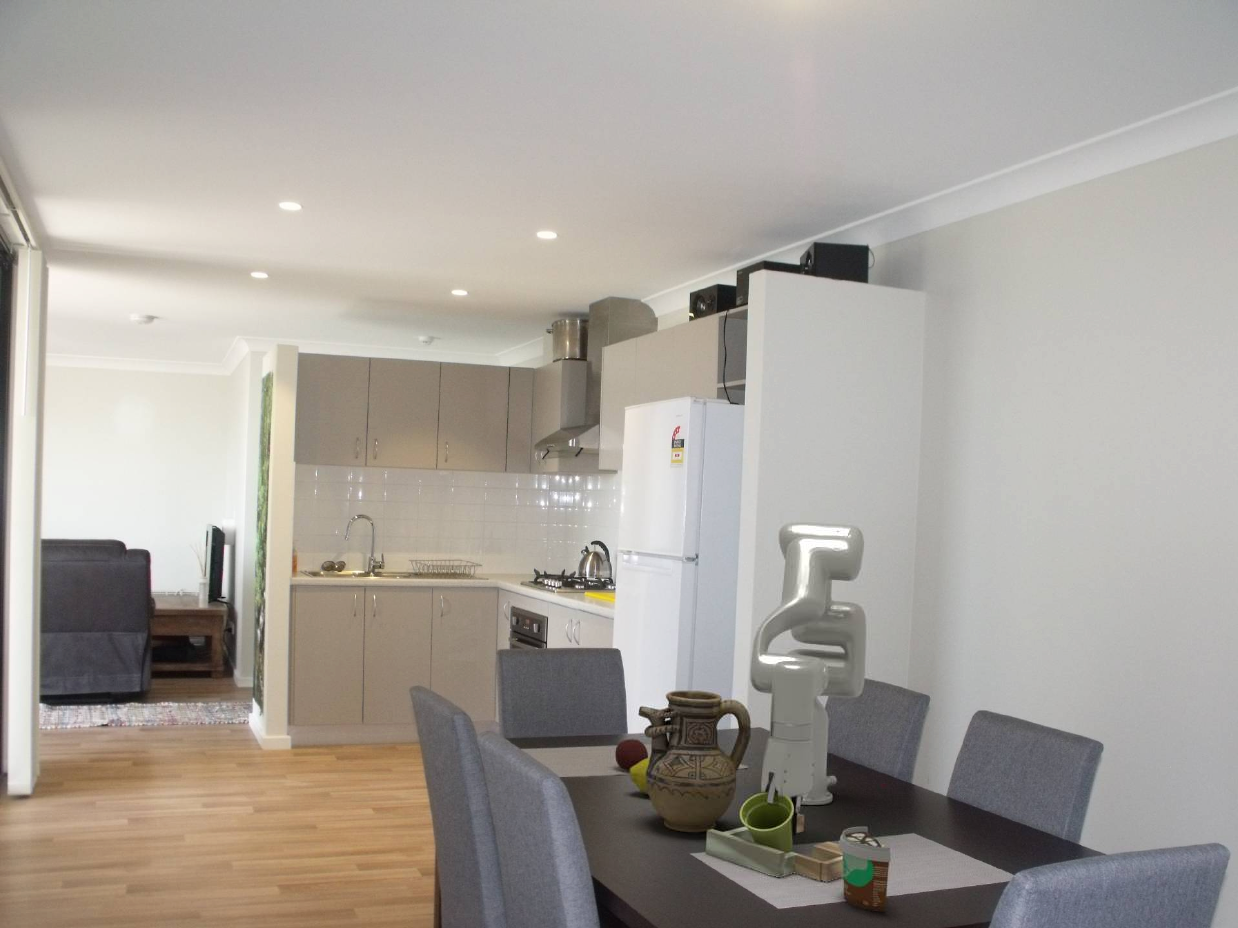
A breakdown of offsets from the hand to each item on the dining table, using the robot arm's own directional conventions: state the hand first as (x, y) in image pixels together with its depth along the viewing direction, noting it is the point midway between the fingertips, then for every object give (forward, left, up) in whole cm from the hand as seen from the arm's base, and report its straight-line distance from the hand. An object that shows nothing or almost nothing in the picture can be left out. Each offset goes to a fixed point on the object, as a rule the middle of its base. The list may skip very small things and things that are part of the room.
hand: (786, 833), depth 200 cm
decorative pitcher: (+2, -21, -4) cm, 21 cm away
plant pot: (+3, 0, -2) cm, 4 cm away
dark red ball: (-21, -60, -4) cm, 63 cm away
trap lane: (-1, +3, -3) cm, 5 cm away
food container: (+10, +22, -4) cm, 25 cm away
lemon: (-9, -41, -4) cm, 42 cm away
